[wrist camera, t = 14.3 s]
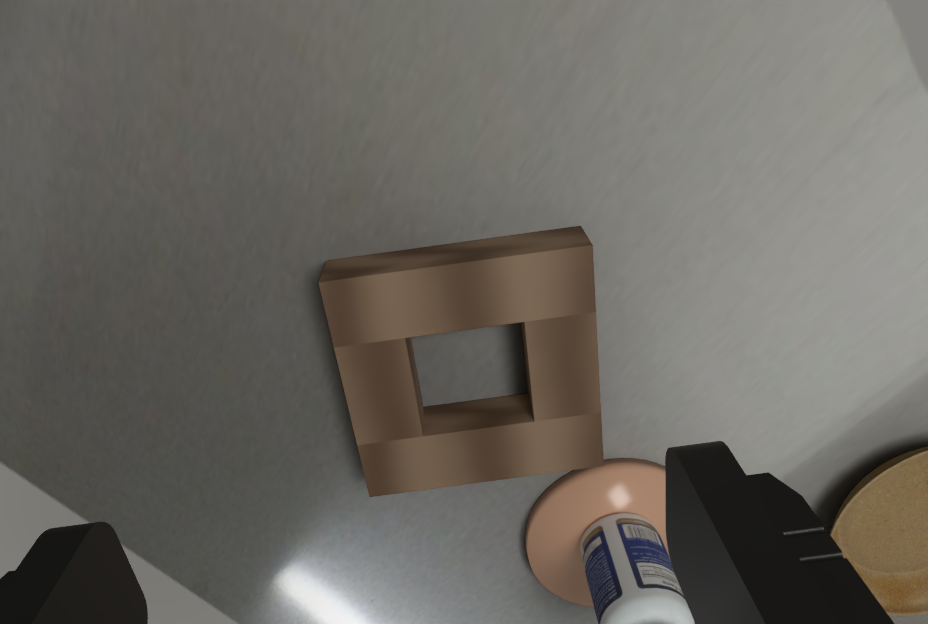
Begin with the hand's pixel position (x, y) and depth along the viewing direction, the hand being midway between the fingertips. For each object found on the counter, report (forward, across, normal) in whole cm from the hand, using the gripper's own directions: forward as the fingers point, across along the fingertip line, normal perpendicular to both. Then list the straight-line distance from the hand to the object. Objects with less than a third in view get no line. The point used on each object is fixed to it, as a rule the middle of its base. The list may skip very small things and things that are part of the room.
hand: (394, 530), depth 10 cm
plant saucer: (+29, -30, +30) cm, 51 cm away
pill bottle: (+27, -9, +28) cm, 40 cm away
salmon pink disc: (+28, -9, +28) cm, 41 cm away
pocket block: (+28, -1, +13) cm, 31 cm away
